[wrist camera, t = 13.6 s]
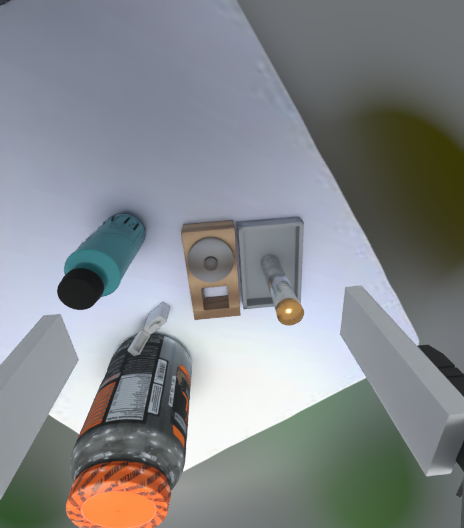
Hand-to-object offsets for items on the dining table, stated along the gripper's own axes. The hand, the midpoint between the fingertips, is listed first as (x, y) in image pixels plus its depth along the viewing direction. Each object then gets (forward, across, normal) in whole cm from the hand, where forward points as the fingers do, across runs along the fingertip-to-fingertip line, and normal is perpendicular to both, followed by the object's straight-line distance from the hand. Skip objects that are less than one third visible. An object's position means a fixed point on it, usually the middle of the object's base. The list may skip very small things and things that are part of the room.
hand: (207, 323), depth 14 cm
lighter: (+35, -13, -23) cm, 44 cm away
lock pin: (+34, +9, -14) cm, 38 cm away
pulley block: (+35, -1, -14) cm, 37 cm away
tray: (+35, +9, -14) cm, 38 cm away
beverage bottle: (+35, -14, -6) cm, 38 cm away
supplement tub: (+35, -15, -34) cm, 51 cm away
